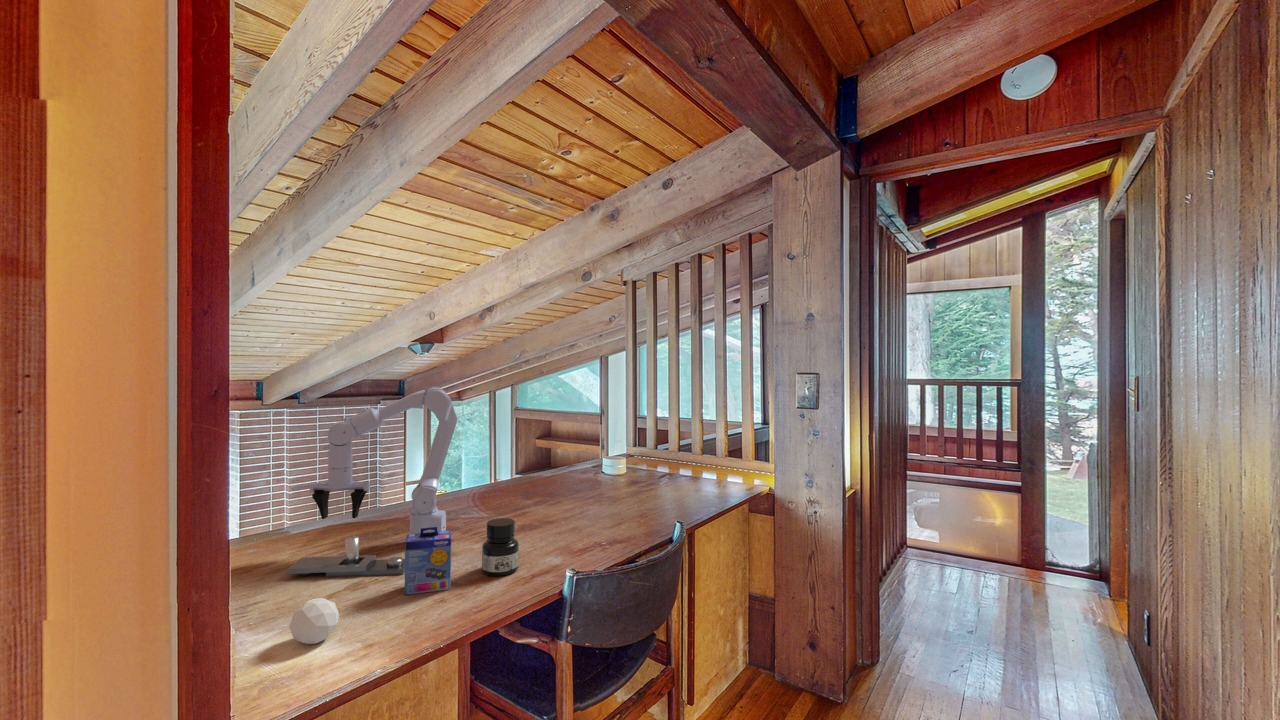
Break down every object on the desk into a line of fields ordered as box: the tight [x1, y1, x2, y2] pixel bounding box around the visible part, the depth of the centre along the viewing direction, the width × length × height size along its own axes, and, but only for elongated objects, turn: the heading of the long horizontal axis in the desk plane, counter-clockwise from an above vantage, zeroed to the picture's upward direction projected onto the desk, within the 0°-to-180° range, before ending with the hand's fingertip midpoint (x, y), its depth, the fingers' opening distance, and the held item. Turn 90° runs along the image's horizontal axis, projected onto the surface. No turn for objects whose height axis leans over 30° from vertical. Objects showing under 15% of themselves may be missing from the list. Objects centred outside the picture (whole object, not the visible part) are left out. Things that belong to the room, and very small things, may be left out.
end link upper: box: [287, 554, 377, 576], centre depth 130 cm, size 18×7×2 cm, turn 98°
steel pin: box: [344, 535, 360, 565], centre depth 131 cm, size 3×3×8 cm
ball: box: [288, 597, 340, 645], centre depth 99 cm, size 8×8×8 cm
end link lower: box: [325, 556, 405, 578], centre depth 132 cm, size 18×7×2 cm, turn 98°
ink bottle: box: [481, 517, 520, 577], centre depth 133 cm, size 10×9×12 cm
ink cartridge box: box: [404, 527, 452, 596], centre depth 122 cm, size 10×6×14 cm, turn 111°
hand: (339, 517), depth 143 cm, fingers open, 7 cm apart
